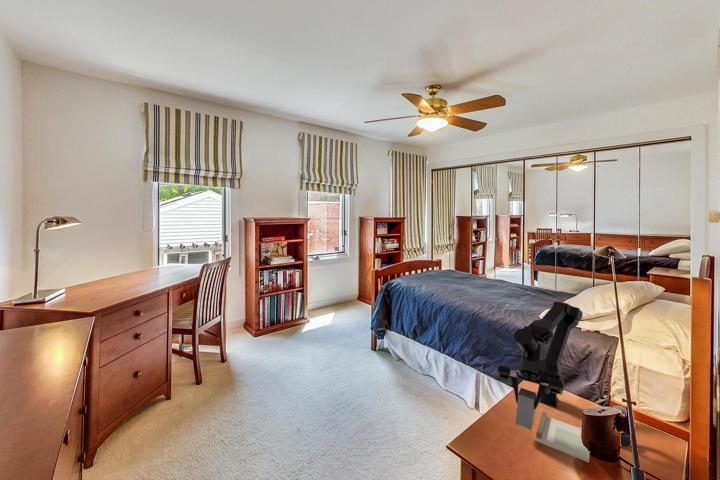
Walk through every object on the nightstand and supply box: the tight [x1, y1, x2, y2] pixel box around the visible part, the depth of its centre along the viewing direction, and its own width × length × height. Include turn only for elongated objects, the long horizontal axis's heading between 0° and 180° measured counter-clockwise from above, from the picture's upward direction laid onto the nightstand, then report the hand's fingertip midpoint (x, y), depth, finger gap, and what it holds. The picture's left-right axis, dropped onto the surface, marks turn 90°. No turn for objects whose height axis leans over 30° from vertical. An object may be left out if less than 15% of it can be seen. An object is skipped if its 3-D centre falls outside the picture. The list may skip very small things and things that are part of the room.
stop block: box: [515, 387, 537, 431], centre depth 99 cm, size 4×4×10 cm
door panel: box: [535, 411, 591, 463], centre depth 100 cm, size 14×14×2 cm
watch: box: [609, 404, 636, 447], centre depth 99 cm, size 6×8×11 cm
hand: (525, 405), depth 98 cm, fingers closed on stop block, 5 cm apart
